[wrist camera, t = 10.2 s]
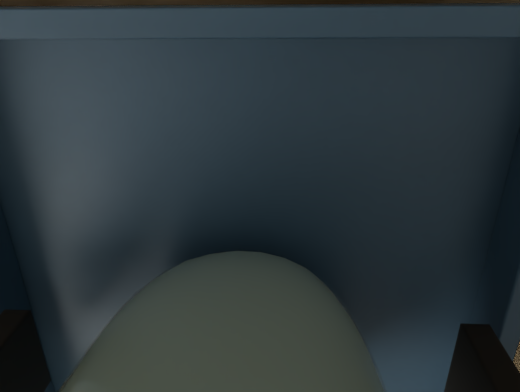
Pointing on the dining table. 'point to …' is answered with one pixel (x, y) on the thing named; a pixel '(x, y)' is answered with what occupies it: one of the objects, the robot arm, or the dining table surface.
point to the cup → (230, 333)
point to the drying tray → (266, 163)
